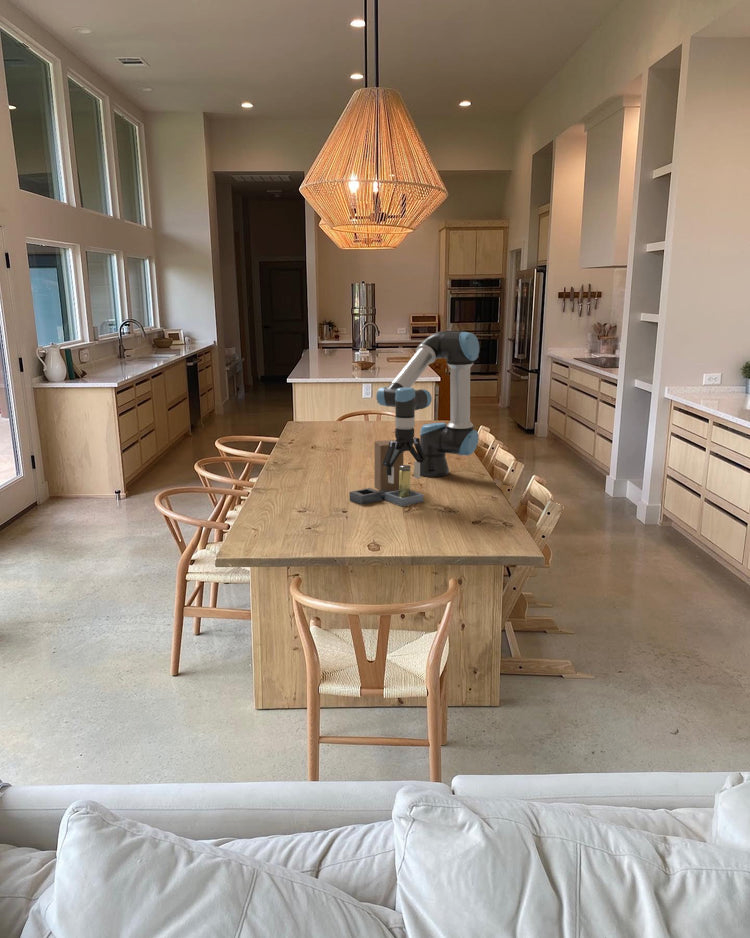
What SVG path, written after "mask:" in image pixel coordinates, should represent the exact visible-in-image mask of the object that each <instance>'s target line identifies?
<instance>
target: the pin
mask: <svg viewBox="0 0 750 938" xmlns="http://www.w3.org/2000/svg"><path fill="white" fill-rule="evenodd" d="M411 466H412V465H409V464H403V465H400V466H399V497H400V498H406V497H410V490H411Z"/></svg>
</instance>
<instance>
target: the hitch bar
mask: <svg viewBox="0 0 750 938" xmlns="http://www.w3.org/2000/svg"><path fill="white" fill-rule="evenodd" d="M387 492H392V491H390V490H387V489H385V490H380V491H379V490H378V489H377V490H376V489H373V488H371V487H368V488H363V489H358V490H352V491H349V501H350V502H352V503H354V504H355V503H356V504H358V505H360V506H363V505H368V504H373V503H378V502H381V501H383V500H384V501H385V493H387Z"/></svg>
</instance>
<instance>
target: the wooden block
mask: <svg viewBox="0 0 750 938" xmlns="http://www.w3.org/2000/svg"><path fill="white" fill-rule="evenodd" d="M390 441H392V442H395V441H396V439H388V440H375V441H374V475H373V477H374V483H373V485H374V488H376V489H377V491H380V490H385V489H387V490H390V491H397V490H399V466H400V465H404V452H402V453H400V454H399V456H398V458H397V459H396V461H395V463H394V464H393V466H392V467H394V484H391V483H388V475H387V467H386V466H384V465H382V464H383V461H384V458H385V456H386V453H387V450H388V448H389V442H390ZM398 450H399V449H398Z"/></svg>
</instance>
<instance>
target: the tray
mask: <svg viewBox="0 0 750 938" xmlns="http://www.w3.org/2000/svg"><path fill="white" fill-rule="evenodd" d="M384 501H387V502H389V503H391V504H394V505H397V506H400V507H406V506H411V505H415V504H419V503H424V494H423V493H420V492H418V491H417V492H416V491H414V490H411V489H410V497H406V498H400V497H399V490H397V491H392V492H387V493H385V499H384Z"/></svg>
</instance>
